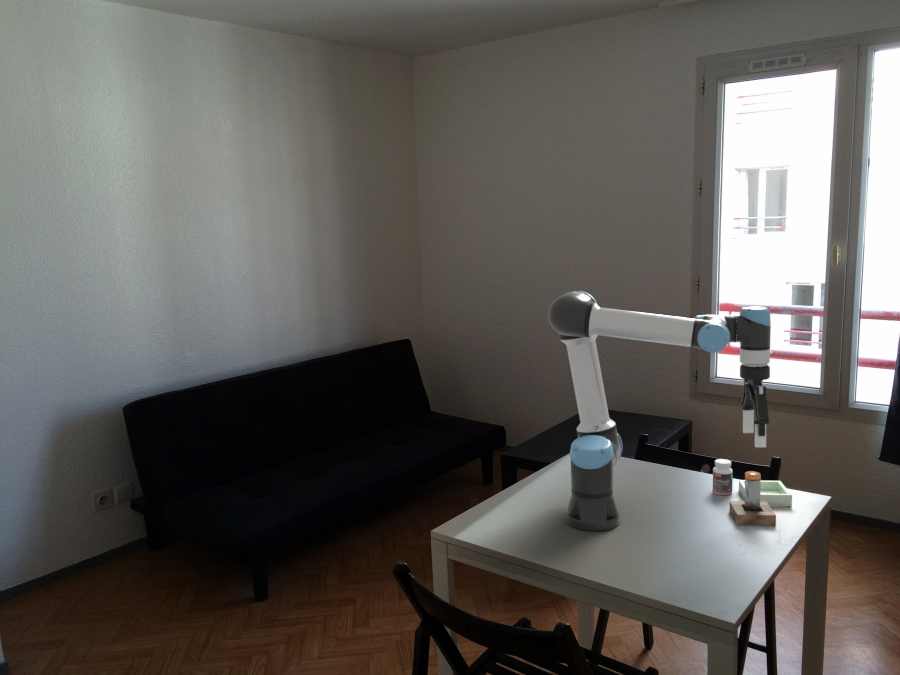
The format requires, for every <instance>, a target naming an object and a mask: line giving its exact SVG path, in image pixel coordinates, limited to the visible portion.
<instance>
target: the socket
mask: <svg viewBox="0 0 900 675" xmlns="http://www.w3.org/2000/svg"><path fill="white" fill-rule="evenodd" d="M744 507H745V500H729V509H728V510H729V513H730V514H731V516H732V518H733V520H734V522H735V524H736V526H758V527H759V526H764V527H766V526H772V527H775V526H777V515H776V513H775V512H774V510H773V509H772V508H771V507H772V506H769V505H768V503H767V502H761V501H760V512H756V511H744Z"/></svg>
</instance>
